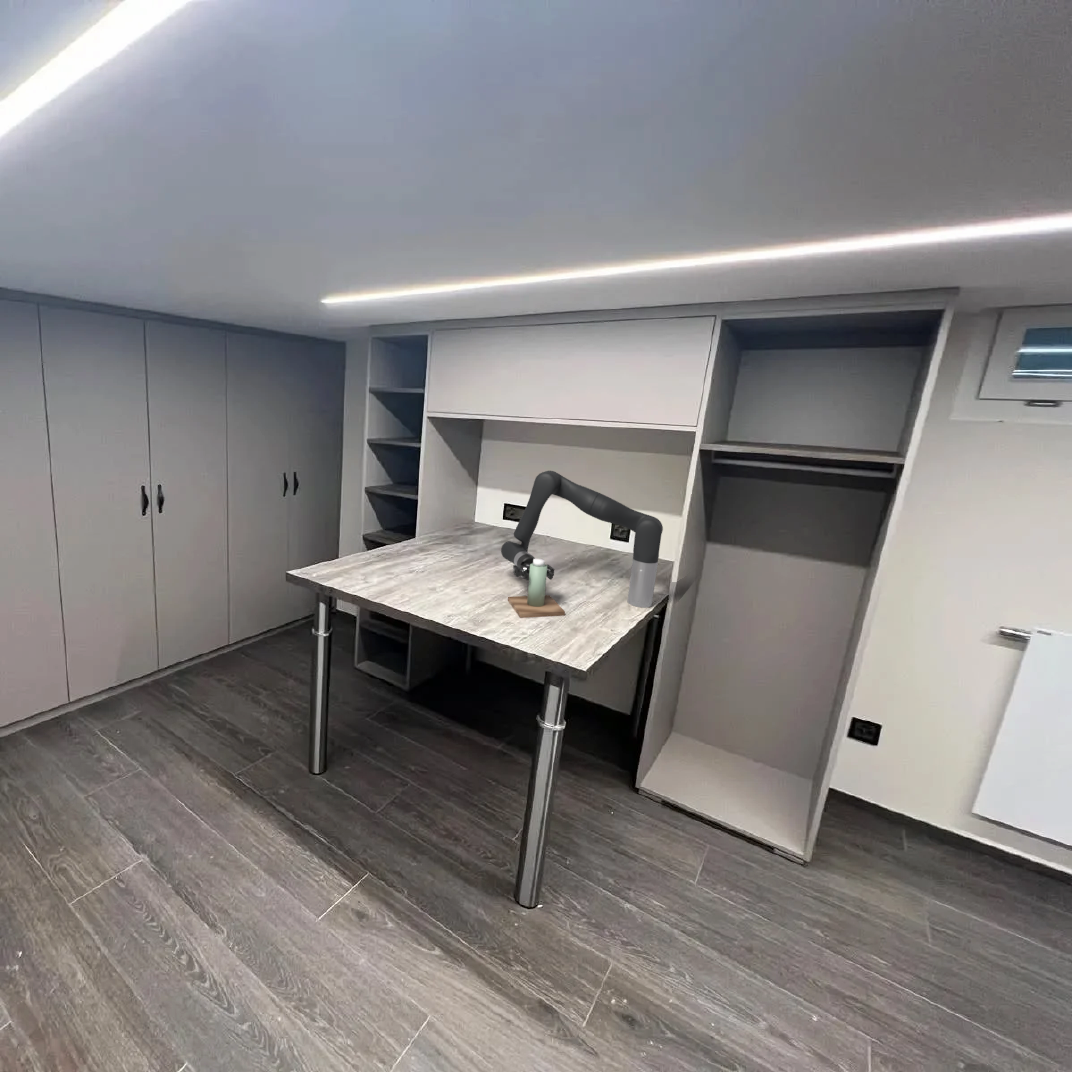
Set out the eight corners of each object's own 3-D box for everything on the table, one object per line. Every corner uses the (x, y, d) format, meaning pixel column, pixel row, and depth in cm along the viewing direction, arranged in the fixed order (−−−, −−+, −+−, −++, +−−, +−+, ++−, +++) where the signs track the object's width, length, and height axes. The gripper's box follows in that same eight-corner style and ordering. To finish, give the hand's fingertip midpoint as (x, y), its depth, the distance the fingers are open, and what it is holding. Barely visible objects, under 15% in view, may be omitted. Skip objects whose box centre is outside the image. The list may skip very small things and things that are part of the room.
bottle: (535, 599, 181) (538, 556, 177) (547, 604, 177) (551, 560, 174) (523, 602, 177) (526, 559, 173) (535, 607, 173) (539, 563, 169)
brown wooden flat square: (507, 600, 182) (507, 596, 181) (549, 598, 187) (549, 595, 187) (520, 617, 167) (520, 613, 167) (564, 615, 172) (565, 611, 172)
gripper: (508, 554, 184) (520, 567, 169) (544, 553, 189) (560, 566, 174) (507, 573, 186) (519, 588, 171) (543, 572, 190) (558, 586, 176)
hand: (539, 577), depth 172 cm, fingers open, 8 cm apart
